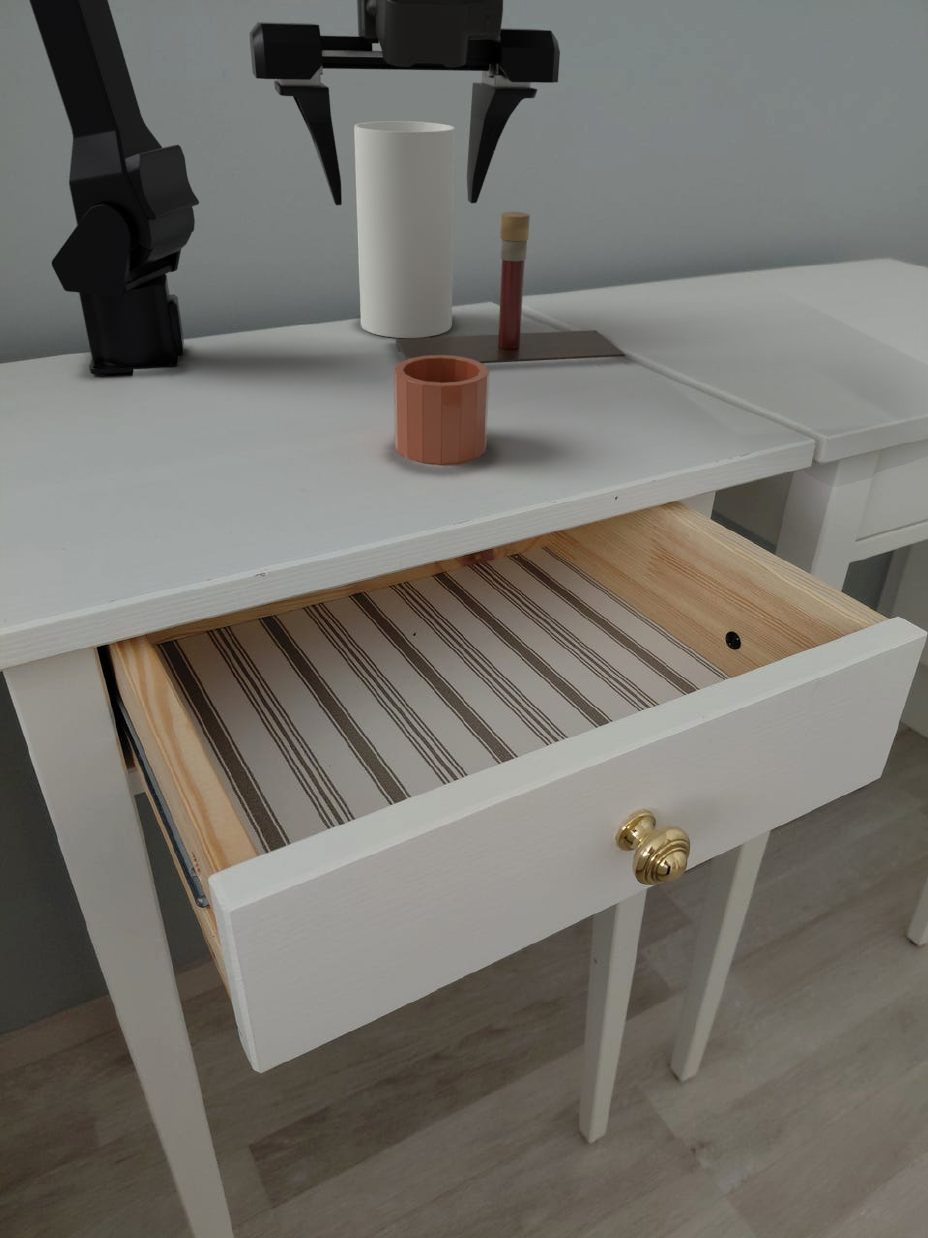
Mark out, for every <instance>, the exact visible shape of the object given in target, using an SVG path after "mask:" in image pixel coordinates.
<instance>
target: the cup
mask: <svg viewBox="0 0 928 1238" xmlns="http://www.w3.org/2000/svg"><path fill="white" fill-rule="evenodd" d="M353 137H354V140H353V141H354V166H355V195H356V221H357V222H356V224H357V227H356V228H357V248H358V249H357V253H358V254H357V255H358V256H357V257H358V281H359V283H358V284H359V308H360V309H359V310H360V311H359V313H360V327H361V328H362V329H363V330H364V331H365V332H368V333H370V334H374V335H377V336H382V337H385V338H395V339H410V338H430V337H434V336H435V337H436V336H438V335H441V334H442V335H443V334H444V333H447V332H448V331H449V330H451V328H452V324H453V281H454V280H453V278H454V277H453V275H454V272H453V271H454V224H455V223H454V222H455V221H454V220H455V169H456V167H455V166H456V165H455V163H456V159H455V158H456V128H455V126H452V125H450V124H444V123H437V122H427V121H426V122H425V121H412V120H411V121H409V120H391V121H390V120H386V121H385V120H384V121H383V120H382V121H366V122H359V123H356V124H354V129H353Z"/></svg>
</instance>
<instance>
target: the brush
mask: <svg viewBox="0 0 928 1238" xmlns="http://www.w3.org/2000/svg"><path fill="white" fill-rule="evenodd" d="M500 216H501V217H500V236H499V238H500V239H501V240H500V241H501V243H500V259H501V270H500V271H501V272H500V293H499V315H498V316H499V317H498V335H499V336H498V347H500V348H502V349H507V350H513V349H517V348H519V347H520V334H521V330H522V329H521V327H522V310H523V294H524V293H523V292H524V279H525V278H524V276H525V261H526V259H527V249H528V248H527V247H528V244H527V243H528V240H529V234H530V217H531V215H530V214H529V213H527V212H523V211H504V212H502V213H501V215H500Z"/></svg>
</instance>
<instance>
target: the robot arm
mask: <svg viewBox="0 0 928 1238" xmlns="http://www.w3.org/2000/svg"><path fill="white" fill-rule="evenodd" d="M28 1H29V5H30V8H31V11H32V14H33V17H34V19H35V23H36V26H37V29H38V31H39V35H40V38H41V42H42V44H43V46H44V50H45V53H46V56H47V59H48V63H49V66H50V68H51V71H52V75H53V78H54V80H55V83H56V87H57V90H58V93H59V95H60V99H61V102H62V105H63V108H64V111H65V114H66V117H67V120H68V123H69V126H70V130H71V136H72V145H71V153H70V155H71V156H70V165H69V166H70V167H69V176H68V187H69V193H70V196H71V202H72V207H73V212H74V217H75V222H76V227H75V228H74V229H73V231H71V233H70V234H69V236H68V237H67V239H66V240H65V242H64V243H63V245H62V246H61V247H60V249H59V250H58V252H57V253H56V254H55V256H54V257H53V259H52V260H51V266H52V269H53V271H54V273H55V275H56V276H57V278H58V281H59V283H60V285H61V286H62V288H63V290H64V291H65V292H69V293H78V295H79V301H80V303H81V304H80V305H81V310H82V315H83V319H84V325H85V326H84V327H85V330H86V335H87V340H88V345H89V350H90V355H91V360H90V363H89V366H88V367H89V368H88V369H89V374H91V375H108V374H110V375H111V374H130V373H131V374H133V373H134V370H144V369H145V370H147V369H166V368H167V369H168V368H176V367H178V366H179V363H180V357H182V356H183V355H184V354H185V339H184V332H183V326H182V318H181V317H182V316H181V311H180V303H179V298H178V296H177V294H170V289H169V281H168V275H167V274H169V273H175V272H176V271H178V268H179V263H180V257H181V251H182V249H183V248H184V247H185V246H187V244H188V242H189V240H190V238H191V236H192V235H193V234H192V233H194V231H195V223H196V221H195V212H194V207H195V206H198V205H199V204H200V200H199V199H198V198H197V196H196V194H195V193H194V191H193V188H192V186H191V183H190V181H189V177H188V171H187V163H186V157H185V154H184V151H183V149H182V147H181V145H179V144H174V145H169V146H164V147H163V146H162V145H161V143H160V142H159V141H158V140H157V138H156V137H155V135H154V134H153V133H152V131H151V130H150V129H149V128H148V126H147V124H146V122H145V120H144V118H143V116H142V112H141V110H140V105H139V103H138V99H137V96H136V93H135V88H134V85H133V82H132V79H131V76H130V72H129V69H128V65H127V61H126V58H125V55H124V51H123V48H122V44H121V41H120V38H119V35H118V34H119V33H118V30H117V27H116V25H115V19H114V17H113V13H112V11H111V6H110V4H109V0H28ZM356 7H357V12H356V13H357V35H322V34H321V29H320V24H316V23H307V22H306V23H304V22H303V23H302V22H269V21H268V22H267V21H266V22H265V21H262V22H261V21H258V22H256V24H255V25H254V26H253V27H252V29H251V30H250V32H249V47H250V48H249V49H250V58H251V70H252V75H253V77H255V79H259V80H260V79H261V80H273V84H274V85H273V86H274V90H275V91H276V93H277V94H278V95H279V96H280V97H281V96H282V97H292V99H293V100H294V102H295V103H296V106H297V108H298V111H299V113H300V115H301V117H302V119H303V121H304V123H305V125H306V127H307V129H308V132H309V134H310V137H311V140H312V142H313V145H314V148H315V150H316V155H317V157H318V159H319V162H320V165H321V168H322V171H323V174H324V177H325V180H326V183H327V186H328V189H329V192H330V195H331V197H332V201H333V203H334V205H335V206H342V204H343V199H342V195H343V194H342V177H341V171H340V164H339V159H338V152H337V144H336V138H335V133H334V125H333V120H332V119H333V118H332V111H331V110H332V109H331V100H330V99H331V97H330V88H329V86H327V85H326V84H324V83H322V81H321V79H322V77H321V75H323V74H324V72H323V71H324V70H325V69H326V70H327V69H329V70H330V69H331V70H387V71H388V70H392V71H393V70H395V71H457V72H458V71H464V72H481V82H472V89H471V105H470V120H469V136H468V151H467V165H466V166H467V167H466V189H467V191H466V192H467V201H468V202H469V204H477V202H478V200H479V198H480V194H481V191H482V189H483V187H484V183H485V180H486V177H487V175H488V172H489V169H490V165H491V163H492V160H493V157H494V154H495V151H496V149H497V145H498V143H499V140H500V138H501V136H502V133H503V131H504V129H505V127H506V125H507V123H508V121H509V119H510V117H511V116H512V114H513V113H514V111H516V109H517V108H518V106H519V104H520V103H521V102H522V101H523V100H525V99H535V98H536V96H537V93H538V88H534V87H531V83H539V84H540V83H544V84H545V83H548V84H550V83H551V84H554V83H558V82H559V73H560V70H559V69H560V56H561V50H560V46H559V45H560V44H559V41H558V39H557V38H556V36H555V34H554V33H553V31H552V30H551V29H549V30H548V29H538V28H537V29H536V28H512V27H511V28H508V27H506V28H505V27H502V23H503V15H504V0H356ZM373 44H379V47H380V50H373ZM323 69H324V70H323Z"/></svg>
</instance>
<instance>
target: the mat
mask: <svg viewBox="0 0 928 1238" xmlns="http://www.w3.org/2000/svg"><path fill="white" fill-rule="evenodd" d="M498 336H499V334H483V335H481V334H480V335H458V336H457V335H455V336H437V337H436V336H435V337H434V336H431V337H421V338H395V346H396V348H397V350H398V352H402V354H403V356H404V358H405V360H407V359H410V358H415V357H420V356H430V355H449V356H458V357H464V358H468V359H473V360H476V361H478V362H480V363H482V364H494V363H513V362H533V361H534V362H535V361H551V360H552V361H553V360H572V359H594V358H611V357H612V358H613V357H625V356H626V354H625V352H623V351H622V350H621V349H619V348H618V347H617V346H616V345H614V344H613V343H612V342H611V341H610V340H608V338H606V337H605V336H604V335H602V334H601V333H600V332H599V331H597V329H594V330H593V329H592V330H591V329H590V330H571V331H570V330H569V331H550V332H549V331H548V332H547V331H546V332H525V333H524V332H523V333H520V347H519V348H517V349H513V350H507V349H502V348H500V347H498Z"/></svg>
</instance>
